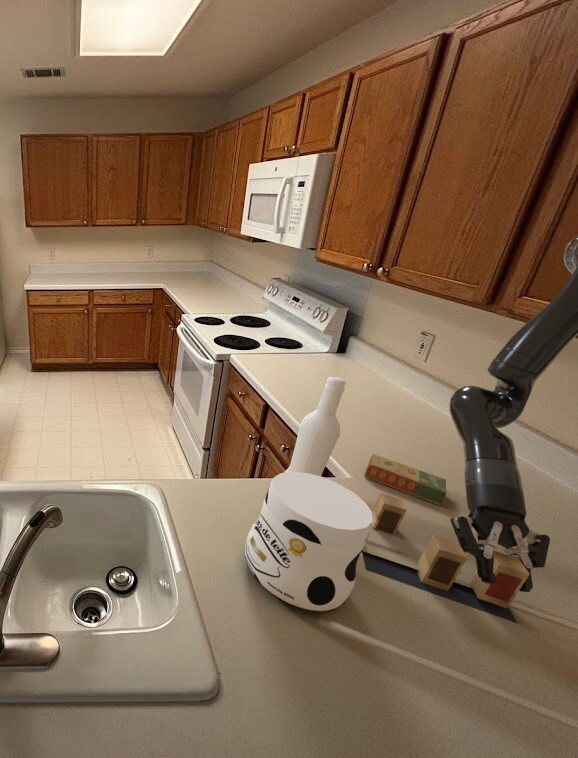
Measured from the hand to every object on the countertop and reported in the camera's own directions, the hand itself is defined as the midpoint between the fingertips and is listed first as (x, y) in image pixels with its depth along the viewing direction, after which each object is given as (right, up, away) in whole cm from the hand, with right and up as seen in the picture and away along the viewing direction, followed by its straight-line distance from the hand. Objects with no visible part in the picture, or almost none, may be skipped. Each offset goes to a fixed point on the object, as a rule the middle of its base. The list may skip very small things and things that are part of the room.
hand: (505, 586), depth 70 cm
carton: (+12, +8, +37) cm, 40 cm away
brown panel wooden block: (-7, -2, +7) cm, 10 cm away
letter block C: (0, -3, +3) cm, 4 cm away
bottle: (-19, +8, +31) cm, 37 cm away
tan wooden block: (-7, +2, +19) cm, 21 cm away
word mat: (-7, -3, +7) cm, 10 cm away
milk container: (-34, -1, +5) cm, 35 cm away
